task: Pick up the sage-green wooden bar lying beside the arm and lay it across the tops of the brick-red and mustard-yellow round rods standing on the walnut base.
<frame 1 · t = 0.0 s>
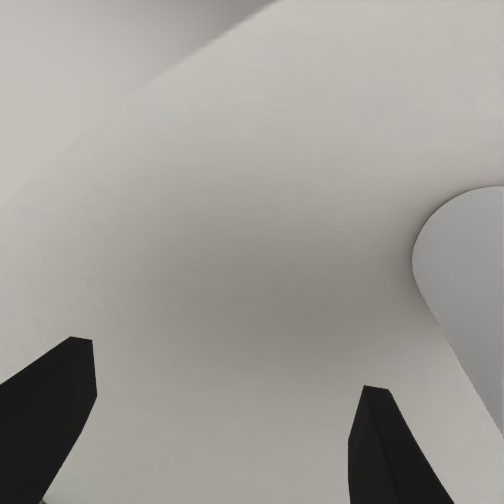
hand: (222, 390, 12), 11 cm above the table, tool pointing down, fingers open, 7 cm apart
can: (482, 253, 21), on the table
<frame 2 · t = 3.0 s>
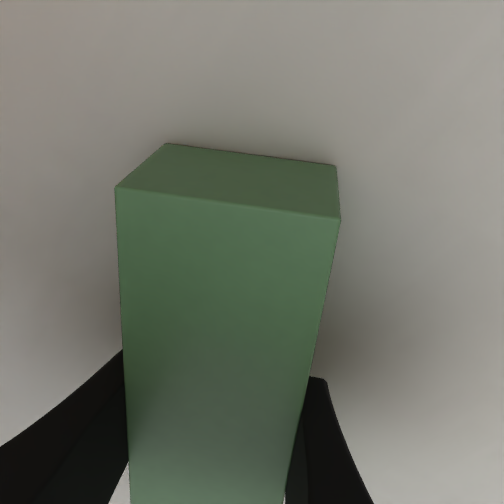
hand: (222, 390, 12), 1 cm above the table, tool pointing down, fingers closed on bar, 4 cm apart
bar: (230, 354, 13), on the table, touching gripper
when the fingers open (7 cm above the table, at t = 9.4 s): bar stays where it is, resting on rod stand.
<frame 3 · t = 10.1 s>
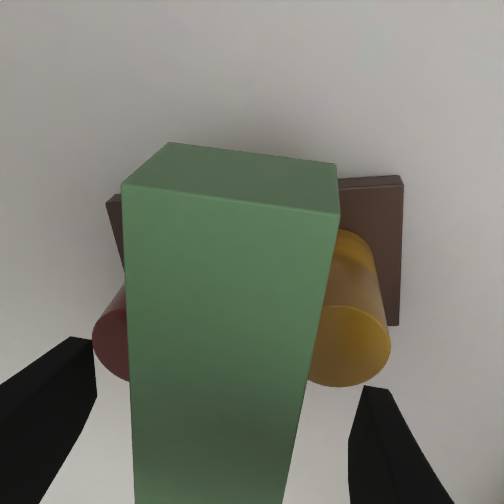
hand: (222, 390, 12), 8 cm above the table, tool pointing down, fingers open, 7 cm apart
bar: (232, 350, 14), point 6 cm above the table, touching rod stand
rod stand: (258, 254, 19), on the table
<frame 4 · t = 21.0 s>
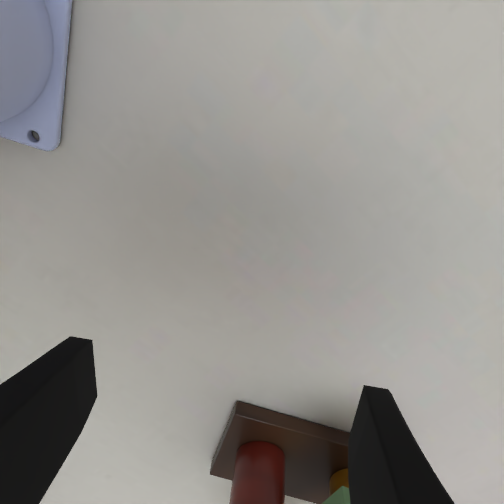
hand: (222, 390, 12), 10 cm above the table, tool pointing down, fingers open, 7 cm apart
rod stand: (307, 455, 29), on the table
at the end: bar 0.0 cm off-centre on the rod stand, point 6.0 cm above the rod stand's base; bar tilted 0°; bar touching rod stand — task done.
